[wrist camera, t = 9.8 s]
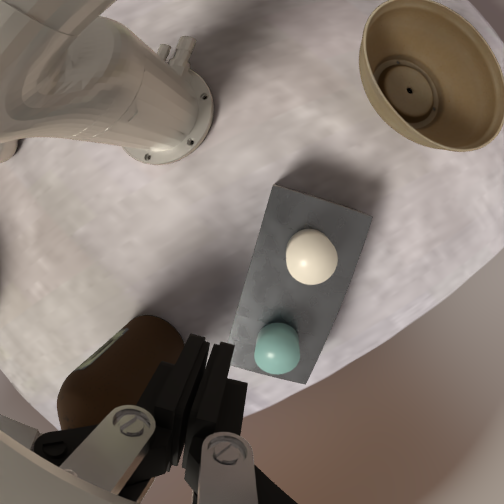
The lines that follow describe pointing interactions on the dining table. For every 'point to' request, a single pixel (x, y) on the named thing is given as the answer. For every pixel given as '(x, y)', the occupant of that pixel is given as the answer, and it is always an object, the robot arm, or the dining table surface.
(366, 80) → the planter bowl
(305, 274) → the cream knob
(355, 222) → the mount block
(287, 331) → the teal knob
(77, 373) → the olive oil
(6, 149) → the plastic bottle
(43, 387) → the dining table surface
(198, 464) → the robot arm
